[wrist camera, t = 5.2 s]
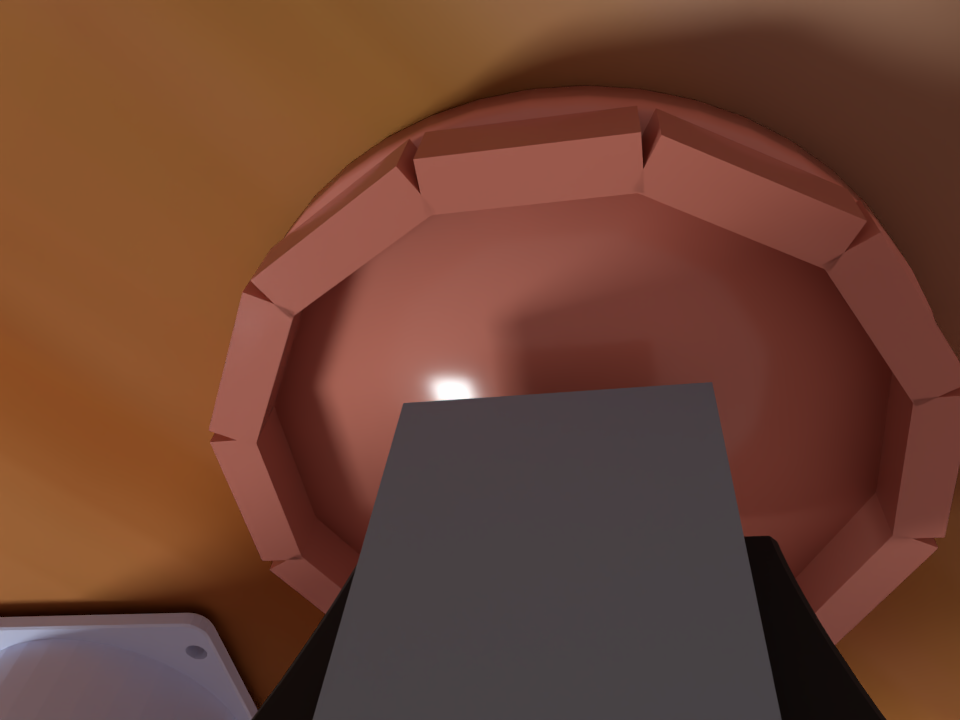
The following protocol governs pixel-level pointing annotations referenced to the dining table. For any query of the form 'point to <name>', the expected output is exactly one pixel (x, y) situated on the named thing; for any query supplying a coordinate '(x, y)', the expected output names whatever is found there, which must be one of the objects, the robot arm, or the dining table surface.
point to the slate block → (554, 567)
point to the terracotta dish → (598, 327)
